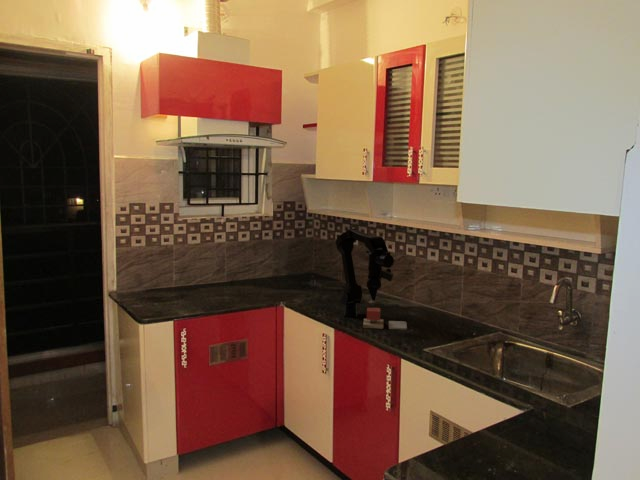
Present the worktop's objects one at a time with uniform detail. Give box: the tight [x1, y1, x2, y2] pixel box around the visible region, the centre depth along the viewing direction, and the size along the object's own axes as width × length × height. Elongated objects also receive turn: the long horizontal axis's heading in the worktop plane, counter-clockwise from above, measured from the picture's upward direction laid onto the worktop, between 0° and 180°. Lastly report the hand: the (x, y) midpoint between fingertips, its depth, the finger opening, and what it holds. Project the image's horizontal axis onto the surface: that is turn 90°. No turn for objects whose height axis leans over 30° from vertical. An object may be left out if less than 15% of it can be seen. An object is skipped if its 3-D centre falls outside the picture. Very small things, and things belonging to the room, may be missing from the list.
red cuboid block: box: [366, 307, 381, 320], centre depth 248 cm, size 6×6×4 cm
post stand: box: [362, 318, 384, 330], centre depth 248 cm, size 10×9×6 cm
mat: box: [388, 320, 408, 331], centre depth 247 cm, size 10×8×1 cm
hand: (374, 297), depth 247 cm, fingers open, 9 cm apart
